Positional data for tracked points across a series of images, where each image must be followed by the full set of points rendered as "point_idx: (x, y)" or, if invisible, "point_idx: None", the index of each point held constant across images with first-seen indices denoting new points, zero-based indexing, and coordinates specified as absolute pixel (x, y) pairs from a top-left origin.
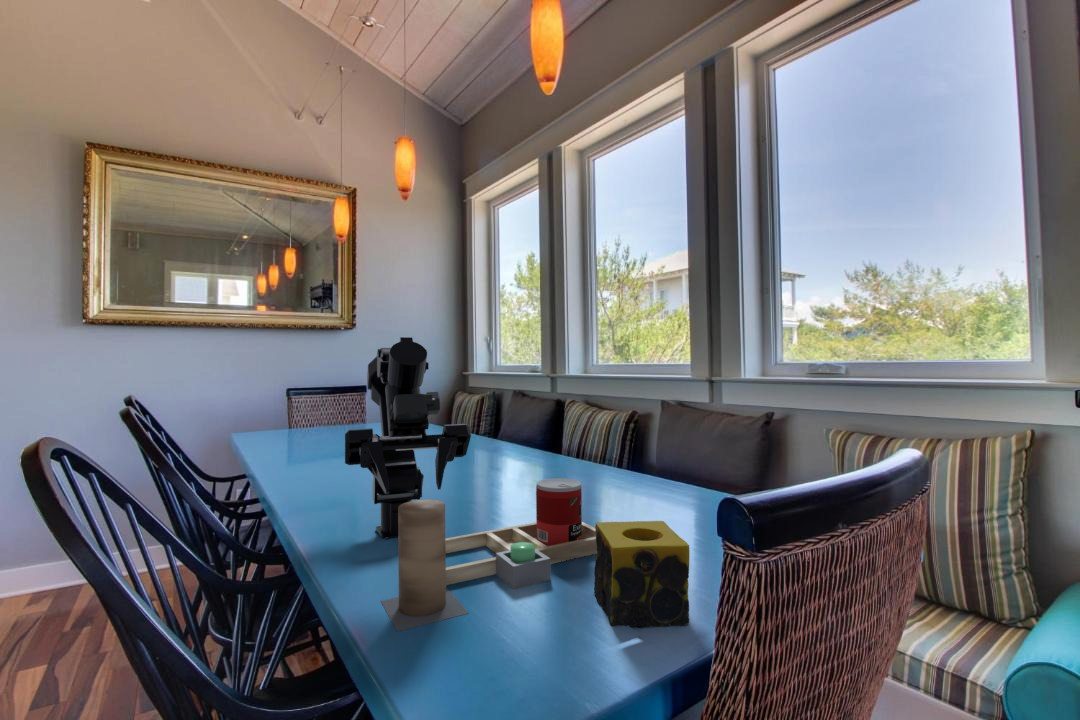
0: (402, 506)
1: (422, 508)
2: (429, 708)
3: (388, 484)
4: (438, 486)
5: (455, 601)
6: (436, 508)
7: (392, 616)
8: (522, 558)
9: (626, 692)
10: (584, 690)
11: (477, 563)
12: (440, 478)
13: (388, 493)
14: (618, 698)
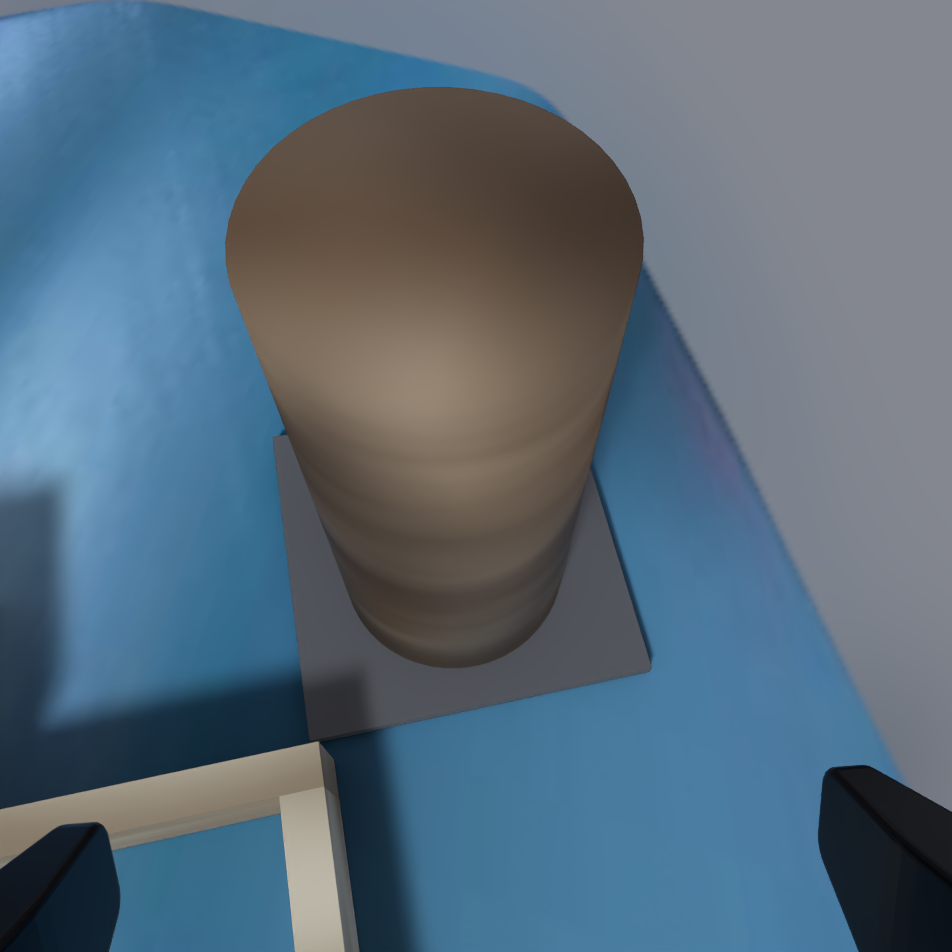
0: (607, 255)
1: (439, 164)
2: (482, 79)
3: (871, 808)
4: (107, 833)
5: (300, 553)
6: (329, 133)
7: (587, 498)
8: None
9: (27, 20)
10: (113, 45)
11: (69, 797)
12: (6, 887)
13: (821, 824)
14: (58, 11)
